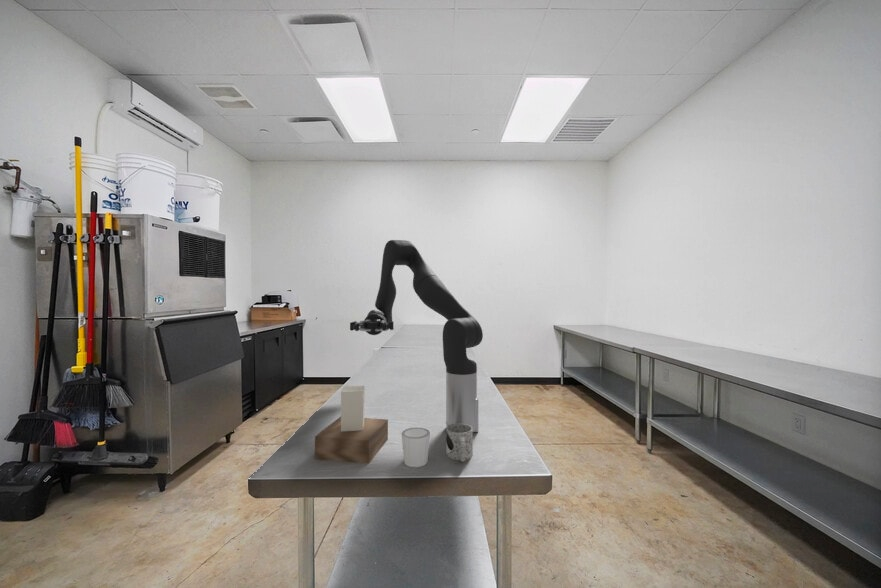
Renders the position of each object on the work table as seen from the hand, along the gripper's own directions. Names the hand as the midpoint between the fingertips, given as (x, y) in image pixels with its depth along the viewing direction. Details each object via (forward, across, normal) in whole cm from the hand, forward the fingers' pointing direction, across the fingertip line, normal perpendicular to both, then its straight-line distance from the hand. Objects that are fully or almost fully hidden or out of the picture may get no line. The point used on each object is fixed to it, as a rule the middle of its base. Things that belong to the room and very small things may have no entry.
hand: (370, 327), depth 109 cm
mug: (+26, +25, +30) cm, 47 cm away
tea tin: (+18, -2, +24) cm, 31 cm away
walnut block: (+19, -2, +30) cm, 36 cm away
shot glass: (+27, +14, +30) cm, 43 cm away
